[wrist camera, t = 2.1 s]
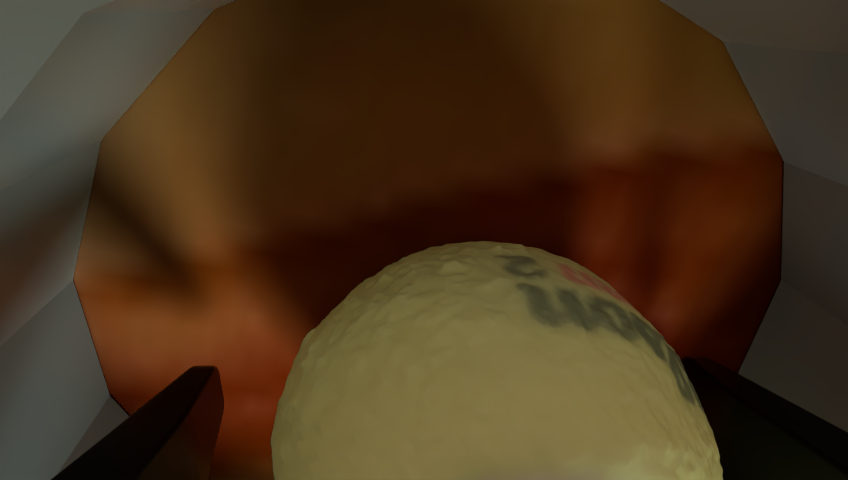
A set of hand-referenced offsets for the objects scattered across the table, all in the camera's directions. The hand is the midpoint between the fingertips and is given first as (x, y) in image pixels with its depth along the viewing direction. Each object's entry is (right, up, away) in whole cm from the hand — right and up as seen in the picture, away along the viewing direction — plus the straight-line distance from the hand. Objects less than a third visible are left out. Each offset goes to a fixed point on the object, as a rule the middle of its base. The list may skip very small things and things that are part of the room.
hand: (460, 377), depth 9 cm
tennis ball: (0, +1, +1) cm, 2 cm away
